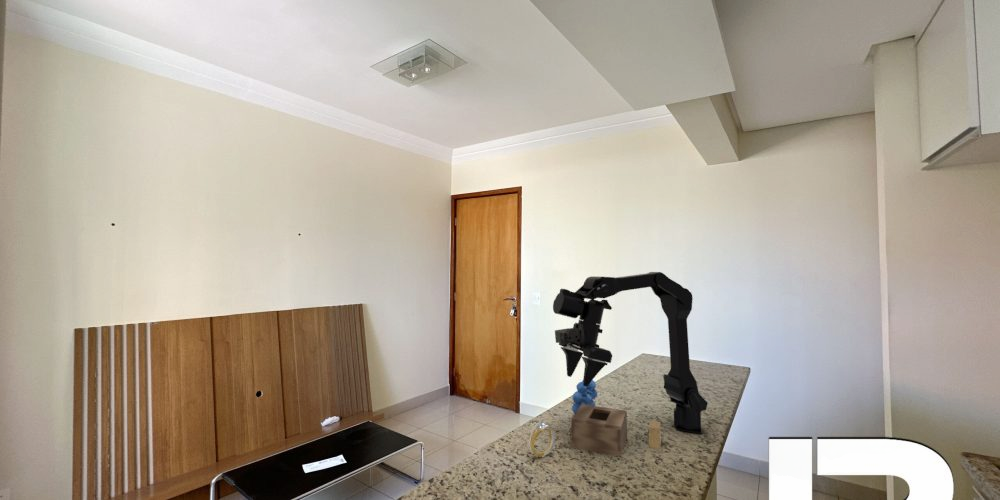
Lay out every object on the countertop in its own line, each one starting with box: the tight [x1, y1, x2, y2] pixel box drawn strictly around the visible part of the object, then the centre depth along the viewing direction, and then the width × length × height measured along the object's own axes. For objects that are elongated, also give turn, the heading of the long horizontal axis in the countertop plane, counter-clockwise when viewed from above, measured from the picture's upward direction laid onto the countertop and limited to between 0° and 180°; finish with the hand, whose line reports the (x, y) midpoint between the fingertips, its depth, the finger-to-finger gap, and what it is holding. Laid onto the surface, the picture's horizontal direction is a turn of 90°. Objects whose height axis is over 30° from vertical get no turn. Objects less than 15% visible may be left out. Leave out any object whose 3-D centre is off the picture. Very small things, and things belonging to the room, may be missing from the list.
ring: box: [528, 420, 556, 458], centre depth 92 cm, size 7×3×8 cm, turn 118°
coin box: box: [570, 404, 628, 458], centre depth 100 cm, size 12×12×7 cm
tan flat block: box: [648, 420, 662, 450], centre depth 99 cm, size 2×5×5 cm, turn 155°
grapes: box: [571, 379, 598, 415], centre depth 117 cm, size 12×7×12 cm, turn 134°
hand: (576, 381), depth 101 cm, fingers open, 9 cm apart
